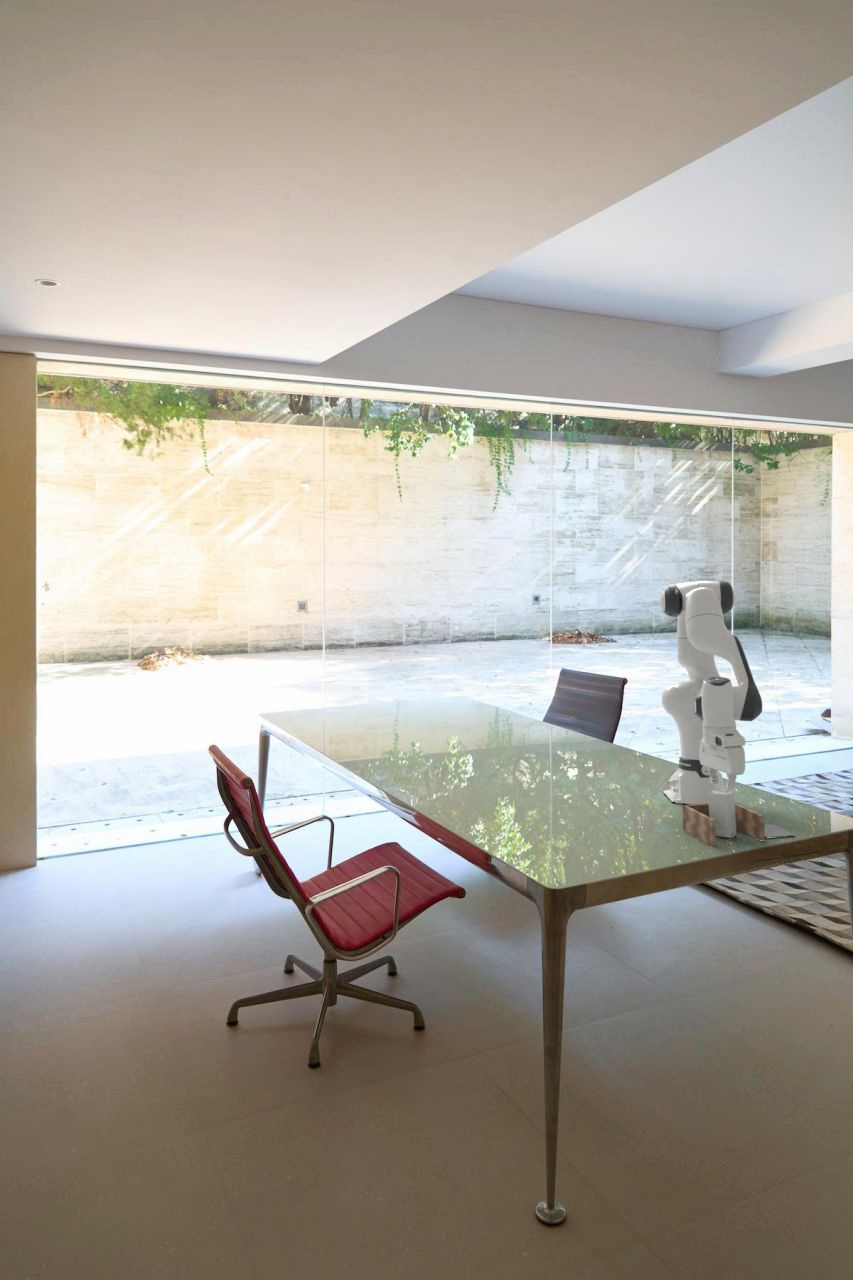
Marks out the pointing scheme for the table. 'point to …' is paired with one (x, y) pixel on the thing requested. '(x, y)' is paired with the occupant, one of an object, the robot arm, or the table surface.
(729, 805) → the skincare box
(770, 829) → the charcoal mat
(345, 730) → the table surface
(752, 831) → the walnut u-shaped frame
